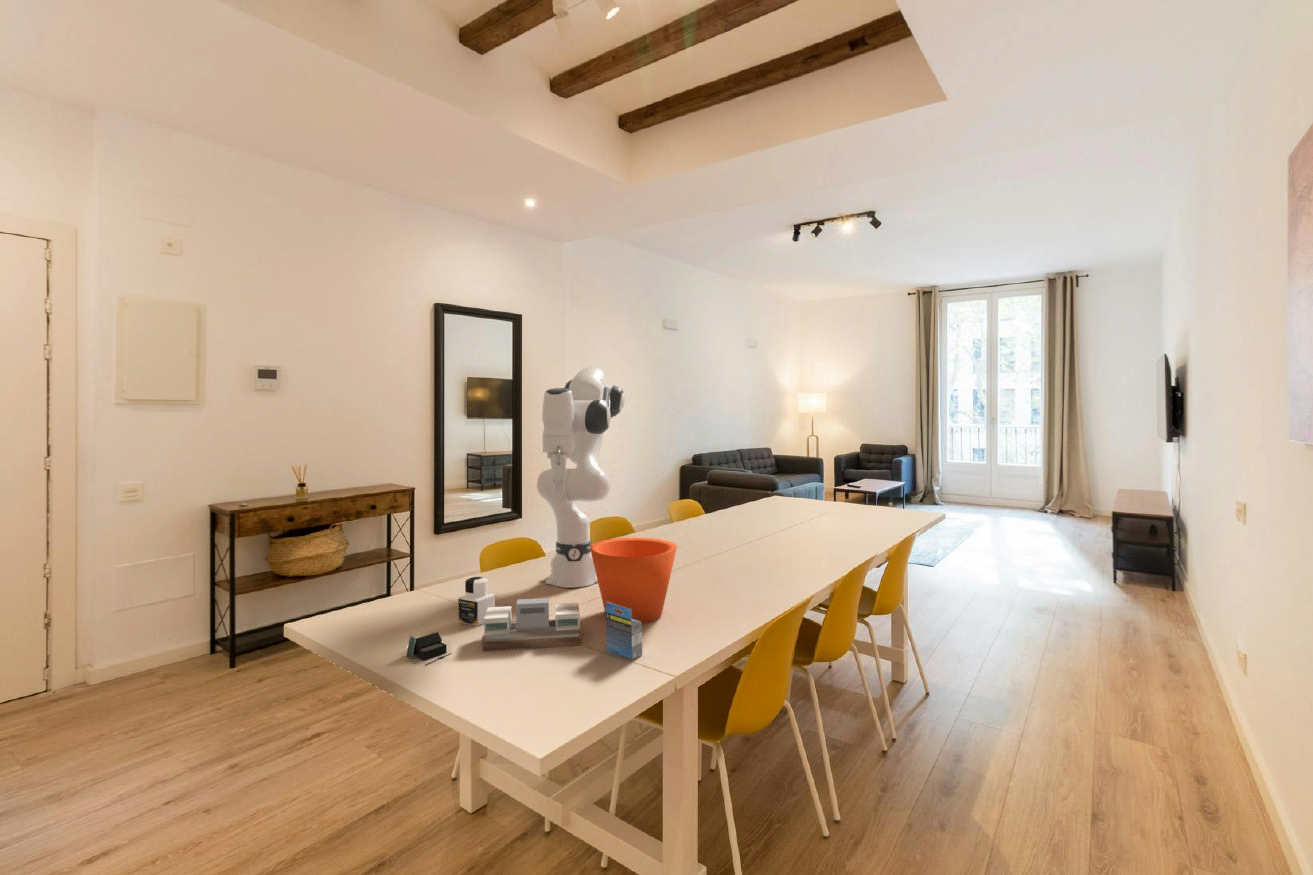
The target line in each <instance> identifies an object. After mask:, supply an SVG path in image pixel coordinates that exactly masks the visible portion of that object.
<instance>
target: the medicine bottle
mask: <svg viewBox="0 0 1313 875" xmlns="http://www.w3.org/2000/svg"><path fill="white" fill-rule="evenodd" d="M488 581H489V580H488V579H487V578H486V577H484V576H473V577H470V578H467V579H466V580H465V582H464V583H465V584H464V586H465V587H464V588H465V590H464V591H465V594H464V595H461V596H458V601H457V602H458V622H459V623H461V624H465V625H470V626H475V627H479V626H482V625H484V618H485V615H486V612H487V609H488V607H496V596H495V594H494V593H490V592H489V585H488V583H489V582H488ZM488 592H489V593H488Z"/></svg>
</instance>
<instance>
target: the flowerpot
mask: <svg viewBox="0 0 1313 875" xmlns="http://www.w3.org/2000/svg"><path fill="white" fill-rule="evenodd" d="M677 549H678V545H677V544H676V543H674V542H673V541H669V540H665V539H661V538H654V537H653V538H652V537H635V536H633V537H617V538H610V539H605V540H599V541H596V542H594V543H591V546H590V550H591V555H592V559H593V563H594V567H595V572H596V576H597V580H598V582H597V583H598V584H597V585H598V588H599V592H600V595H601V596H600V597H601V600H602V604H603V609H604V614H605V615H606V605H607V602H609V603H612V604H616V605H619V606H622V607H625V608H628V609H632V615H631V619H634V620H638V621H641V624H647V623H652V622H655V621H657V620H658V619H661V617H662V614H663V610H664V606H665V601H666V595H667V592H668V590H669V589H668V588H669V584H670V580H671V579H670V578H671V575H672V571H673V566H674V561H675V557H676V553H677ZM614 611H615V612H617V613H620V614H623V612H622V611H620V610H619V609H618V610H616V609H614ZM654 620H655V621H654Z"/></svg>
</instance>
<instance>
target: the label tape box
mask: <svg viewBox="0 0 1313 875" xmlns="http://www.w3.org/2000/svg"><path fill="white" fill-rule="evenodd" d="M614 609H616V610H618V609H619V610H620V611H622V612H623V614H620V613H617V612H615V611H614ZM631 615H632V609H628V608H625V607H622V606H619V605H616V604H612V603H609V602H607V605H606V614H605V621H606V622H605V627H606V630H605V631H606V652H610V653H611V654H615V655H619V656H621V657H625V658H626V659H630V660H633V661H634V660H635V659H637V658H639V657H641V656H642V655H643V637H642V636H643V633H642V623H641V621H638V620H634V619H631Z"/></svg>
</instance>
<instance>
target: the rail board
mask: <svg viewBox="0 0 1313 875" xmlns="http://www.w3.org/2000/svg"><path fill="white" fill-rule="evenodd" d="M579 607H580V606H579V602H569V603H564V602H563V603H555V619H554V618H553V619H549V629H541V630H524V631H517V621H513V620H512V619H513V618H512V614H513V613H512V605H509V606H508V605H507V606H506V605H505V606H495V607H488V609H487V612H486V615H485V618H484V624H483V629H484V630H483V634H484V639H483V642H482V649H481V650H482V652H492V651H506V650H507V651H508V650H509V651H510V650H521V649H522V650H523V649H524V650H525V649H537V648H540V649H541V648H554V647H555V648H556V647H557V648H558V647H569V646H572V647H573V646H582V636H581V624H580V623H581V622H580V619H581V618H580V615H581V614H580V608H579Z"/></svg>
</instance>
